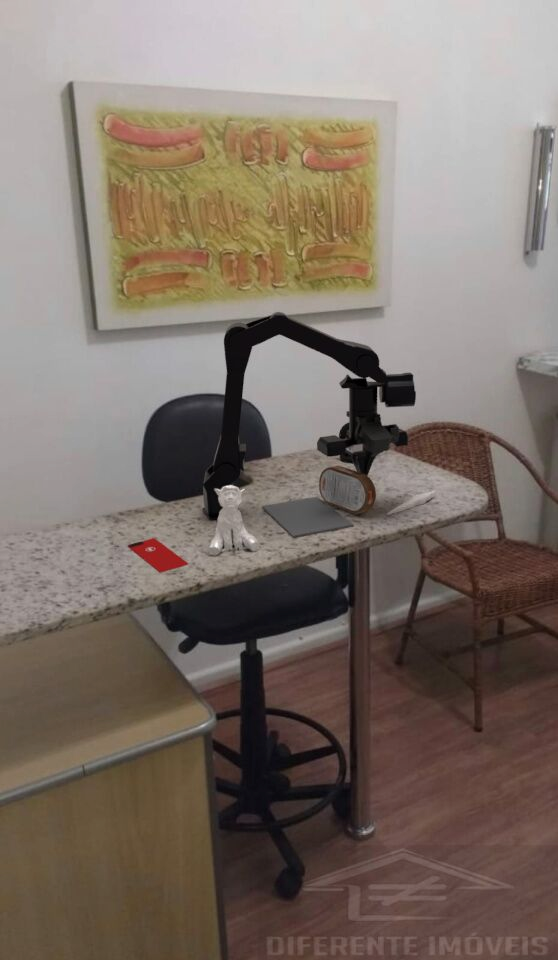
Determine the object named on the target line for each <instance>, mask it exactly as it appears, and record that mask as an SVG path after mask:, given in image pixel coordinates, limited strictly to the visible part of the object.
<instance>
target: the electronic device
mask: <svg viewBox="0 0 558 960" xmlns="http://www.w3.org/2000/svg"><path fill="white" fill-rule="evenodd" d="M127 548H129V549H130V550H131V551H133V553H134V554H136V555H138V557H140V558H141V559H142V560H143V561H145V562H146V563H147V564H149V566H150V567H152V568H153V569H154V570H155V571H156V572H158V573H164V572H167V571H172V570H175V569H178V568H181V567H184V566H185V567H186V566H188V565H189V563H188V562H187V561H186V560H185V559H183V558H182V557H180V556H179V555H178V554H177V553H175V552H174V551H173V550H172V549H170V548H168V547H167V546H166V545H164V544H163V543H162V542H160V541H159V540H157V538H155V537H154V538H153V537H152V538H149V539H145V540H142V541H137V542H134V543H133V542H132V543H130V544H128V545H127Z"/></svg>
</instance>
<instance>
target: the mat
mask: <svg viewBox="0 0 558 960" xmlns="http://www.w3.org/2000/svg"><path fill="white" fill-rule="evenodd" d="M261 508H262V509H263V510H264V511H265V512H266V513H267V514H268V515H269V516H270V517H271V518H272V519H273V520H274V521H275V522H276V523H277V524H278V525H279V526H281V528H283V530H285V531H286V533H287V534H289V535H290V536H291V537H292V538H301V537H304V536H309V535H314V534H320V533H324V532H325V533H326V532H330V531H335V530H340V529H345V528H351V527H352V528H353V527H354V523H352V521H350V520H348V519H347V518H346V517H345V516H343V515H342V514H340V513H339V512H338V511H337V510H336V509H334V508H333V507H332V506H330V504H328V503H327V502H326V501H325V500H322V499H321V498H320V497H318V496H314V497H313V496H312V497H308V498H306V497H305V498H300V499H294V500H289V501H283V502H277V503H271V504H266V505H265V504H264V505H262V506H261Z"/></svg>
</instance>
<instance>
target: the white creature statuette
mask: <svg viewBox="0 0 558 960" xmlns="http://www.w3.org/2000/svg"><path fill="white" fill-rule="evenodd" d="M214 490H215V491H216V493H217V495H218V496H219V497H218V500H219V503H220V506H222V507H223V508H222V509H221V511H220V512H219V517H218V519H216V520H217V523H216V527H215V528H216V529H215V532H214V538H213V539H212V540H211V541H210V544H209V546H208V553H209V555H210V556H214V557H215V556H219V554H220V553H225V552H229V550H230V551H231V552H232V551H233V550H235V551H238V550H239V551H242V550H246V549H248V550H250V551H252V552H257V551H258V550H259V547H260V546H259V545H260V544H259V541H258V540H257V539H256V537H255V536H254V535H252V534H250V533H249V532H248V530H247V529H246V528H245V524H244V522H243V521H244V519H243V517H242V513H241V511H240V506H241V504H243V496H244V493H245V490H246V488H242V489H239V487H238V486H236V485H235V486H233V485H229V486H224V487H222V489H221V490H219V489H214ZM238 507H239V509H238ZM233 546H234V547H233Z"/></svg>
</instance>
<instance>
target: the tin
mask: <svg viewBox="0 0 558 960" xmlns="http://www.w3.org/2000/svg"><path fill="white" fill-rule="evenodd" d="M318 481H319V483H318V489H319V493H320V496H321V498H322V499H323V501H324V502H325V503H326V504H328V505H331V506H333V507H336V508H339V509H341V510H344V511H346V512H348V513H351V514H356V515H357V514H366V513H368V512H370V511H371V510H372V509H373V508H374V505H375V504H376V499H377V491H376V487H375V484H374V482H373V480H372V479H371V478H370V477H369V476H367V475H365V474H363V473H360V472H357V470H354V469H350V468H348V467H345V466H342V465H334V466H328V467H326V468H324V470H322V472H321V473H320V476H319V480H318Z"/></svg>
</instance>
